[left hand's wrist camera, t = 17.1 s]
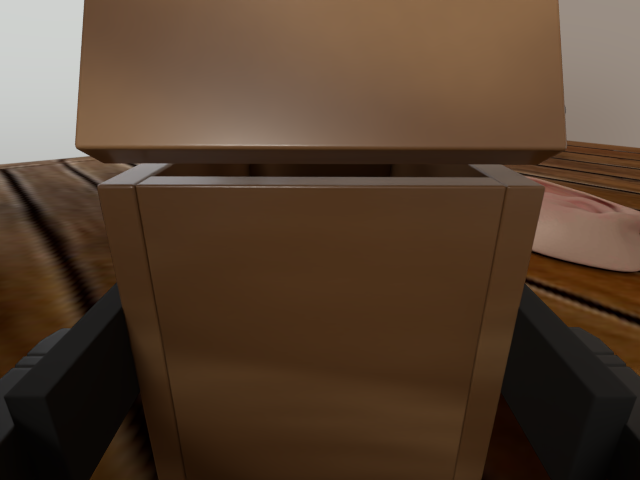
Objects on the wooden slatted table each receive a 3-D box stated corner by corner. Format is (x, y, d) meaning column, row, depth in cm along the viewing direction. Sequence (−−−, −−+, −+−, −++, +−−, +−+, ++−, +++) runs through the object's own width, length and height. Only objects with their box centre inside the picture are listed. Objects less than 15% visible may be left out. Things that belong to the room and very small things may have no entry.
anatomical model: (700, 227, 27) (510, 207, 30) (680, 281, 28) (501, 255, 32) (637, 182, 38) (505, 172, 42) (625, 222, 39) (498, 208, 43)
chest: (246, 285, 28) (233, 117, 23) (393, 285, 28) (406, 117, 23) (165, 517, 13) (94, 184, 9) (473, 518, 13) (547, 186, 9)
